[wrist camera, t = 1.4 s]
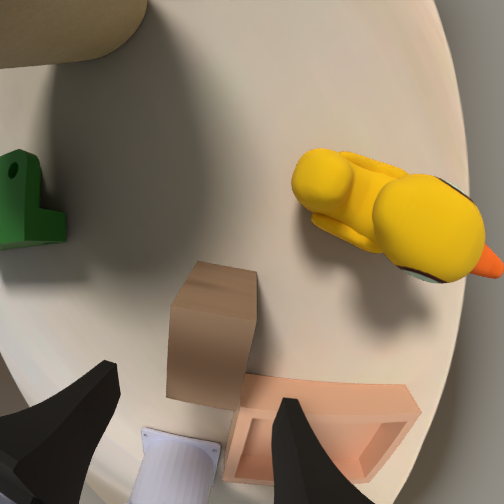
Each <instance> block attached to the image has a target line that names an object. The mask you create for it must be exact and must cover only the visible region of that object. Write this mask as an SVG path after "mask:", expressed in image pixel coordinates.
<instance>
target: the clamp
mask: <svg viewBox="0 0 504 504" xmlns="http://www.w3.org/2000/svg"><path fill="white" fill-rule="evenodd" d="M40 187H41V168H40V162H39V159H38V157H37V156H36V155H34V154H31V153H29V152H26V151H23V150H21V149H17V150H15V151H12V152H10V153H7V154H5V155H3V156H0V250H6V249H14V248H22V247H31V246H39V245H48V244H57V243H65V242H66V213H64V212H59V211H53V210H47V209H41V208H40Z"/></svg>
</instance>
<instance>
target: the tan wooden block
mask: <svg viewBox="0 0 504 504" xmlns="http://www.w3.org/2000/svg"><path fill="white" fill-rule="evenodd" d="M256 322H257V272H255V271H249V270H243V269H238V268H232V267H227V266H221V265H216V264H210V263H205V262H199V261H198V262H197V263H196V265H195V267H194V268H193V270H192V271H191V273H190V275H189V276H188V278H187V279H186V281H185V283H184V284H183V286H182V288H181V289H180V291H179V293H178V294H177V296H176V298H175V299H174V301H173V303H172V304H171V310H170V324H169V339H168V358H167V385H166V398H170V399H175V400H179V401H184V402H189V403H193V404H198V405H204V406H209V407H215V408H221V409H227V410H233V411H237V407H238V402H239V398H240V394H241V389H242V385H243V381H244V376H245V372H246V367H247V363H248V359H249V354H250V350H251V345H252V341H253V336H254V332H255V327H256Z"/></svg>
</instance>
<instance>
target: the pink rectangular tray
mask: <svg viewBox="0 0 504 504" xmlns="http://www.w3.org/2000/svg"><path fill="white" fill-rule="evenodd" d="M283 397H285V398H296V399H298V400H299V402H300V405H301V407H302V409H303V412H304V414H305V416H306V418H307V420H308V422H309V424H310V426H311V428H312V430H313V431H314V433H315V435H316V437H317V439H318V440H319V442H320V444H321V445H322V447H323V448H324V450H325V451H326V453H327V454H328V456H329V457H330V459H331V460H332V461H333V463H334V464H335V465H336V466H337V468H338V469H339V470H340V471H341V473H342V474H343V475H344V476H345V477H346V478H347V479H348V480H349V481H350V482H351V483H352V484H360V483H369V482H370V481H371V480H372V479H373V477H374V476H375V475H376V474H377V473H378V471H379V470H380V469H381V468H382V467H383V465H384V464H385V463H386V462H387V460H388V459H389V458H390V457H391V455H392V454H393V453H394V451H395V450H396V449H397V447H398V446H399V445H400V443H401V442H402V440H403V439H404V438H405V436H406V435H407V433H408V432H409V431H410V429H411V428H412V426H413V425H414V423H415V422H416V420H417V419H418V417H419V416H420V414H421V410H420V408H419V407H418V405H417V403H416V402H415V400H414V398H413V397H412V395H411V393H410V392H409V390H408V388H407V387H406V385H380V384H348V383H331V382H317V381H306V380H295V379H286V378H277V377H269V376H262V375H254V374H248V373H245V376H244V381H243V385H242V389H241V394H240V398H239V402H238V407H237V411H234V414H233V418H232V422H231V427H230V431H229V436H228V440H227V444H226V448H225V455H224V465H223V475H222V481H227V482H235V483H244V484H255V485H270V486H274V478H273V465H272V451H271V437H272V425H273V422H274V420H275V417H276V414H277V412H278V409H279V407H280V404H281V401H282V399H283Z"/></svg>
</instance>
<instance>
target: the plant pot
mask: <svg viewBox="0 0 504 504" xmlns="http://www.w3.org/2000/svg"><path fill="white" fill-rule="evenodd" d="M146 7H147V0H0V69H4V68H16V67H27V66H39V65H49V64H59V63H69V62H78V61H85V60H92V59H97V58H100V57H103V56H105V55H107V54H109V53H111V52H113V51H115V50H116V49H117V48H119V47H120V46H121V45H123V44H124V43H125V42H126V41H127V40H128V39H129V38H130V37H131V36H132V35H133V34H134V33H135V31H136V30H137V29H138V27H139V25H140V24H141V22H142V20H143V18H144V15H145V12H146Z"/></svg>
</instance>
